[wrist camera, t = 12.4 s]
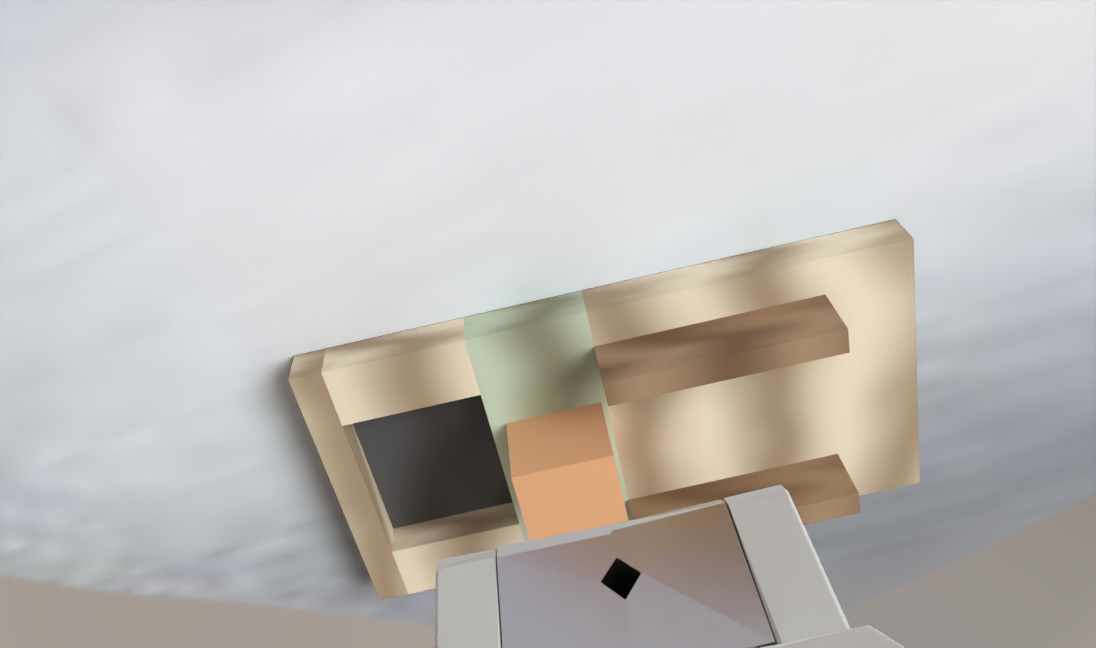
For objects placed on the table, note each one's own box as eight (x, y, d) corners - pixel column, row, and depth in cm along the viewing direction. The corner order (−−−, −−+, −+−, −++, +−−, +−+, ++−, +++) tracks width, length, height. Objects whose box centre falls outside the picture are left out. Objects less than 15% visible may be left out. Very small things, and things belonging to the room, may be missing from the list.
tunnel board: (382, 572, 54) (376, 645, 50) (293, 355, 47) (278, 420, 43) (904, 457, 53) (944, 522, 49) (895, 219, 46) (942, 270, 42)
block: (527, 495, 50) (533, 553, 46) (506, 423, 47) (511, 478, 44) (617, 475, 50) (630, 531, 46) (601, 401, 47) (613, 455, 44)
